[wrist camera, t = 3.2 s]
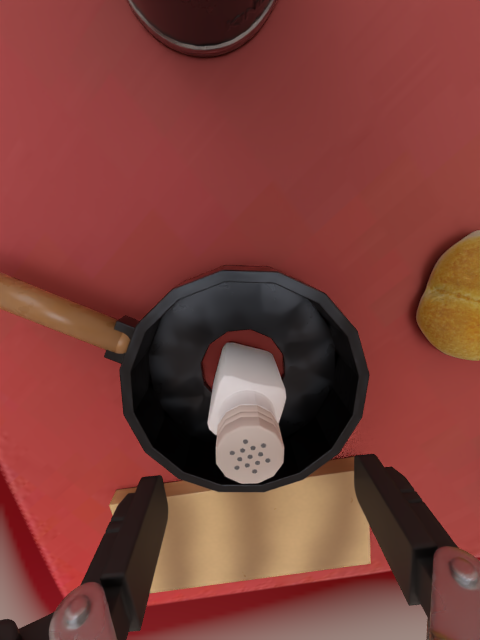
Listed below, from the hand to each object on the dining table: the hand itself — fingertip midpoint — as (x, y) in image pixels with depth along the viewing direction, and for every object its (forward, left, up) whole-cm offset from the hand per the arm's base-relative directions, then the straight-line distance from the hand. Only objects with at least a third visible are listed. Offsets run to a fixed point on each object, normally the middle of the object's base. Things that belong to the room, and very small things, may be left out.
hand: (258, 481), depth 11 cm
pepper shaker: (0, 0, -11) cm, 11 cm away
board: (+11, -11, -11) cm, 19 cm away
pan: (-6, -2, -11) cm, 12 cm away
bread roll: (+8, +16, -11) cm, 21 cm away
